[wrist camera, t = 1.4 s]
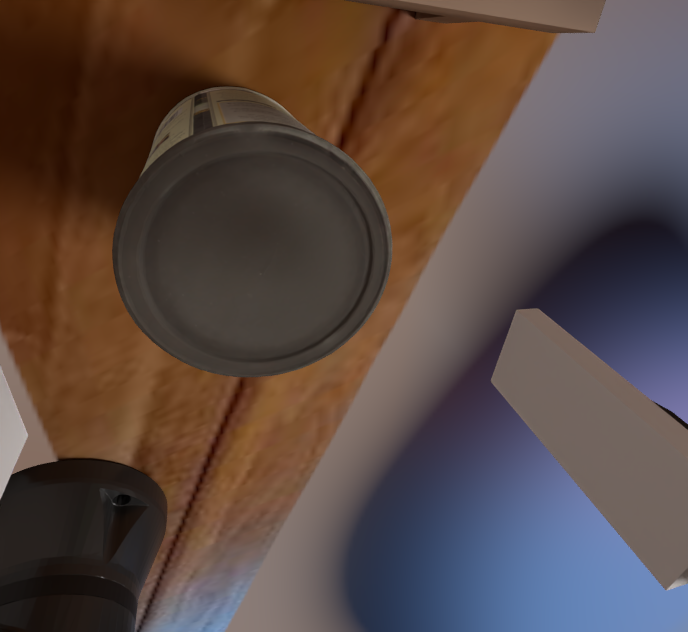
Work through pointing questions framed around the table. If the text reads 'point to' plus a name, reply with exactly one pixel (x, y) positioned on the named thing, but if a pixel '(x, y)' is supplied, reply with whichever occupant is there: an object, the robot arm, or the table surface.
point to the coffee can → (249, 239)
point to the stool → (507, 12)
